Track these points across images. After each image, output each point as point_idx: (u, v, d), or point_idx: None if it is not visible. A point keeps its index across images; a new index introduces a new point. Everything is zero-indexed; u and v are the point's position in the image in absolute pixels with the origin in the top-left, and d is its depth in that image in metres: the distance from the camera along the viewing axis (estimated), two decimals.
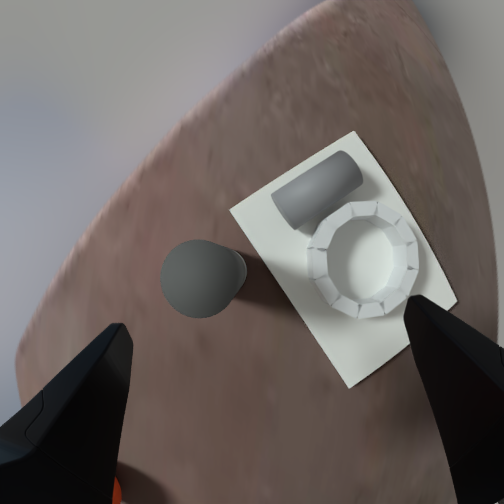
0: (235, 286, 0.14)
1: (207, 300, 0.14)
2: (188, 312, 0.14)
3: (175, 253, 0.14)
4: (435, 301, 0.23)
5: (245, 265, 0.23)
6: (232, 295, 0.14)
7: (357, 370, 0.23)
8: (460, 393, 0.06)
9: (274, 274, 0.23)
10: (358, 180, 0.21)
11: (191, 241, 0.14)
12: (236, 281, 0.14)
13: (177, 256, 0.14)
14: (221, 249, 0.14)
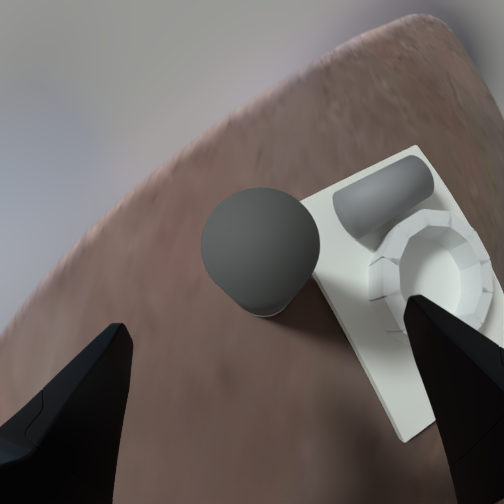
0: (316, 257, 0.09)
1: (272, 276, 0.09)
2: (239, 292, 0.09)
3: (230, 203, 0.10)
4: (500, 337, 0.16)
5: None
6: (311, 270, 0.09)
7: (416, 420, 0.15)
8: (460, 393, 0.06)
9: (329, 294, 0.18)
10: (430, 187, 0.17)
11: (256, 189, 0.10)
12: (318, 251, 0.09)
13: (232, 207, 0.10)
14: (299, 204, 0.10)
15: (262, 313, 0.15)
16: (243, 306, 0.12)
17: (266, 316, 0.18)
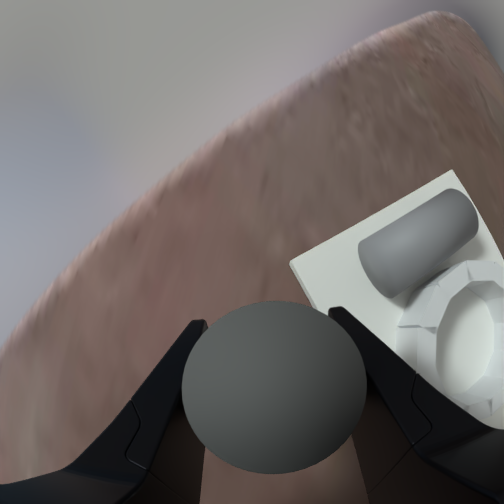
0: (359, 412, 0.05)
1: (292, 441, 0.05)
2: (242, 461, 0.05)
3: (226, 328, 0.06)
4: None
5: None
6: (350, 430, 0.05)
7: None
8: (368, 420, 0.06)
9: None
10: (474, 231, 0.13)
11: (269, 304, 0.06)
12: (362, 401, 0.05)
13: (230, 336, 0.06)
14: (338, 329, 0.06)
15: None
16: None
17: None
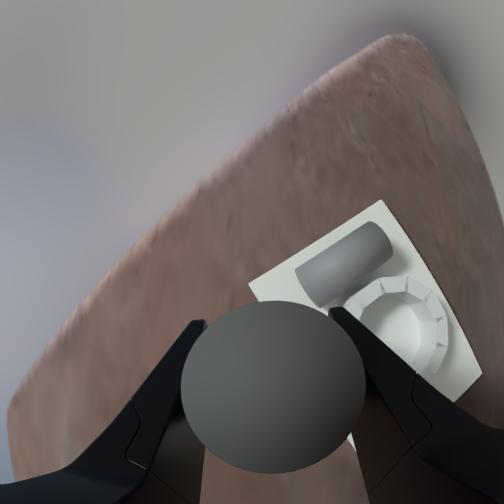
0: (358, 411, 0.05)
1: (291, 441, 0.05)
2: (241, 461, 0.05)
3: (225, 327, 0.06)
4: (461, 375, 0.19)
5: None
6: (349, 430, 0.05)
7: None
8: (367, 420, 0.06)
9: None
10: (388, 254, 0.19)
11: (268, 303, 0.06)
12: (361, 400, 0.05)
13: (229, 335, 0.06)
14: (337, 328, 0.06)
15: None
16: None
17: None
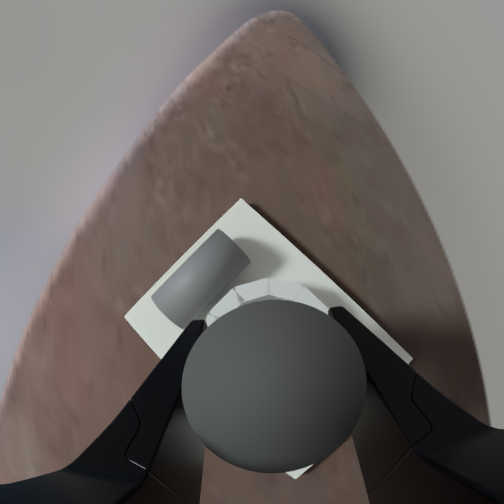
0: (359, 410, 0.05)
1: (292, 440, 0.05)
2: (242, 460, 0.05)
3: (225, 327, 0.06)
4: None
5: None
6: (350, 429, 0.05)
7: None
8: (367, 420, 0.06)
9: None
10: (241, 259, 0.19)
11: (268, 302, 0.06)
12: (362, 399, 0.05)
13: (230, 334, 0.06)
14: (338, 327, 0.06)
15: None
16: None
17: None
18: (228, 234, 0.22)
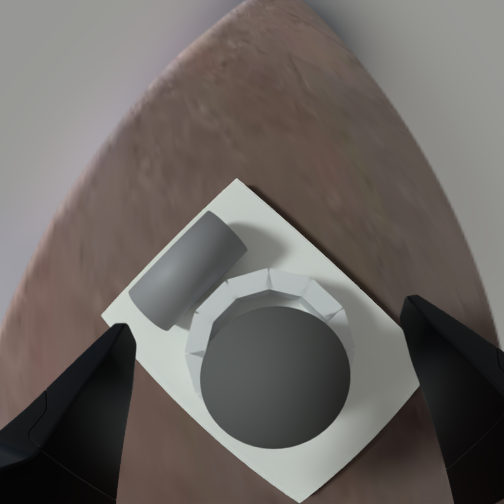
0: (345, 397, 0.07)
1: (290, 421, 0.07)
2: (249, 438, 0.07)
3: (236, 328, 0.07)
4: (401, 375, 0.16)
5: None
6: (337, 412, 0.07)
7: (304, 483, 0.14)
8: (456, 394, 0.06)
9: (163, 386, 0.16)
10: (235, 246, 0.16)
11: (271, 308, 0.07)
12: (347, 388, 0.07)
13: (239, 334, 0.07)
14: (327, 328, 0.07)
15: None
16: None
17: None
18: (221, 219, 0.18)
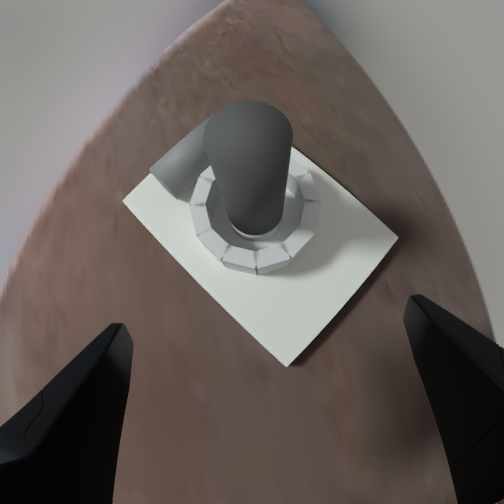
0: (290, 143, 0.12)
1: (256, 155, 0.12)
2: (231, 165, 0.12)
3: (225, 110, 0.12)
4: (368, 242, 0.21)
5: None
6: (286, 151, 0.12)
7: (290, 342, 0.20)
8: (460, 393, 0.06)
9: (169, 250, 0.21)
10: None
11: (245, 102, 0.12)
12: (291, 140, 0.12)
13: (227, 113, 0.12)
14: (276, 111, 0.12)
15: (253, 222, 0.17)
16: (236, 204, 0.15)
17: (258, 239, 0.21)
18: None
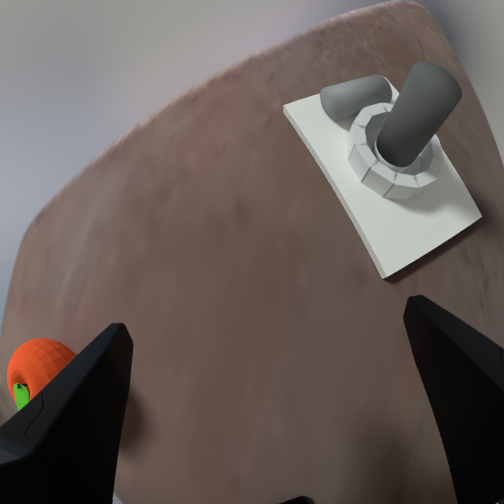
0: (460, 97, 0.14)
1: (442, 93, 0.14)
2: (429, 90, 0.14)
3: (424, 63, 0.15)
4: (462, 210, 0.23)
5: None
6: (458, 100, 0.14)
7: (394, 257, 0.22)
8: (460, 393, 0.06)
9: (318, 153, 0.24)
10: (388, 92, 0.23)
11: (435, 64, 0.15)
12: (460, 96, 0.14)
13: (425, 65, 0.15)
14: (453, 78, 0.14)
15: (404, 148, 0.20)
16: (407, 125, 0.18)
17: None
18: None
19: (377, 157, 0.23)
